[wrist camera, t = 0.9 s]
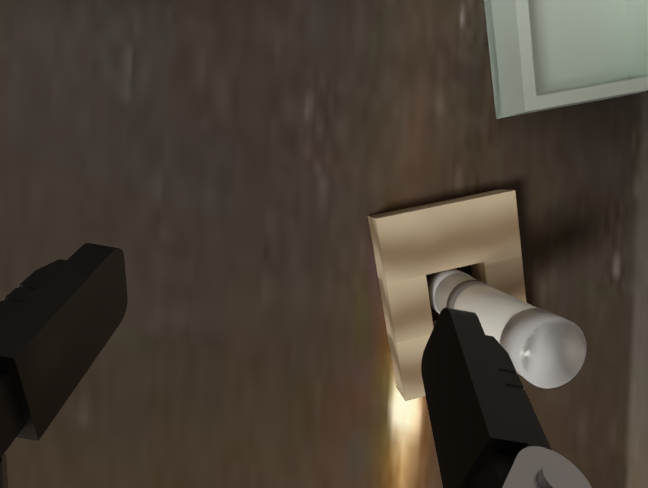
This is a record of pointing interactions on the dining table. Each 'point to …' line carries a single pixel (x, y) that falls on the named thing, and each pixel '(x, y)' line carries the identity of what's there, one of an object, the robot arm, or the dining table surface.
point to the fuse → (515, 327)
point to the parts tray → (565, 52)
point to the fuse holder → (440, 266)
